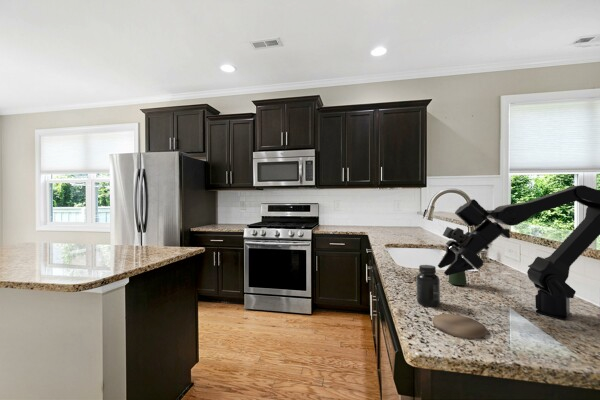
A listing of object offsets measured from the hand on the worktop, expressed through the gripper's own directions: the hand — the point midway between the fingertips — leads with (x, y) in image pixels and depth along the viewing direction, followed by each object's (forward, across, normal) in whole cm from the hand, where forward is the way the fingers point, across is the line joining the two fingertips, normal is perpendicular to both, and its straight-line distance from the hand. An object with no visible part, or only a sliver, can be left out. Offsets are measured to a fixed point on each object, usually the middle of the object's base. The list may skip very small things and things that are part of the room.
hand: (441, 270), depth 86 cm
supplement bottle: (+11, 0, +5) cm, 12 cm away
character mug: (0, -24, +15) cm, 29 cm away
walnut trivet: (+7, +16, +8) cm, 19 cm away
